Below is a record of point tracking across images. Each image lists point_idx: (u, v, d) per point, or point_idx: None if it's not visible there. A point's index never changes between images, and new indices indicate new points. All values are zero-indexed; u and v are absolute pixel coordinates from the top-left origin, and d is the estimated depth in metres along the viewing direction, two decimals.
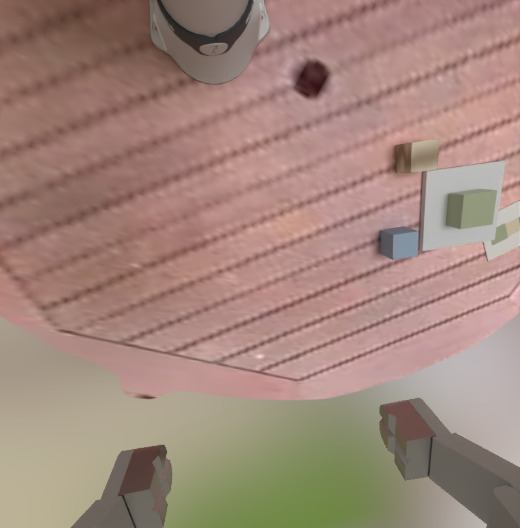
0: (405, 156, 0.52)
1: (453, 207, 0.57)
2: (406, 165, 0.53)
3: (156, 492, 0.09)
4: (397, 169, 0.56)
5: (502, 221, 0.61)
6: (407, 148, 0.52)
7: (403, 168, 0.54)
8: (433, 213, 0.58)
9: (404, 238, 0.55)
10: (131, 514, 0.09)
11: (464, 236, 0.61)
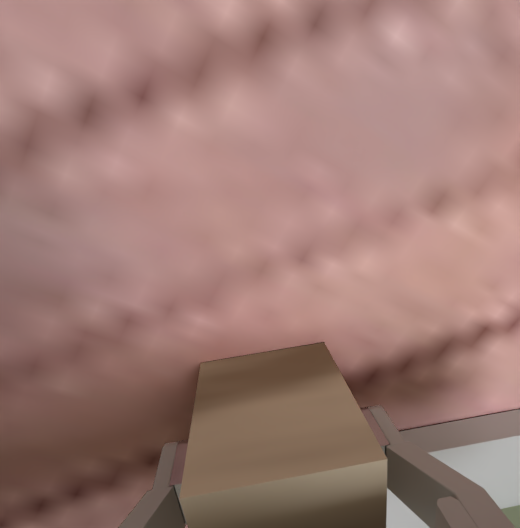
0: None
1: None
2: None
3: None
4: None
5: None
6: None
7: None
8: None
9: None
10: None
11: None
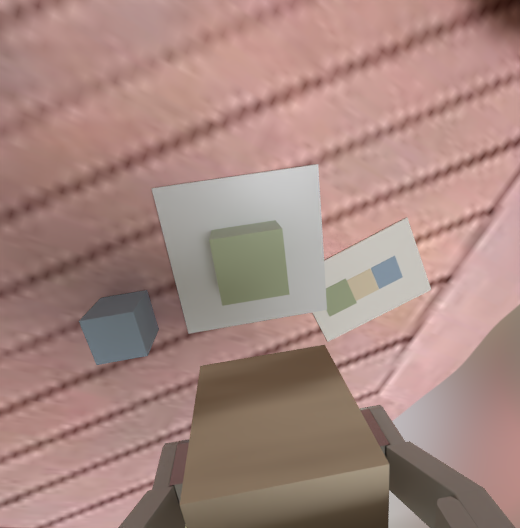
0: None
1: None
2: None
3: None
4: None
5: (340, 275, 0.33)
6: None
7: None
8: (190, 268, 0.30)
9: (106, 325, 0.27)
10: None
11: (265, 307, 0.32)
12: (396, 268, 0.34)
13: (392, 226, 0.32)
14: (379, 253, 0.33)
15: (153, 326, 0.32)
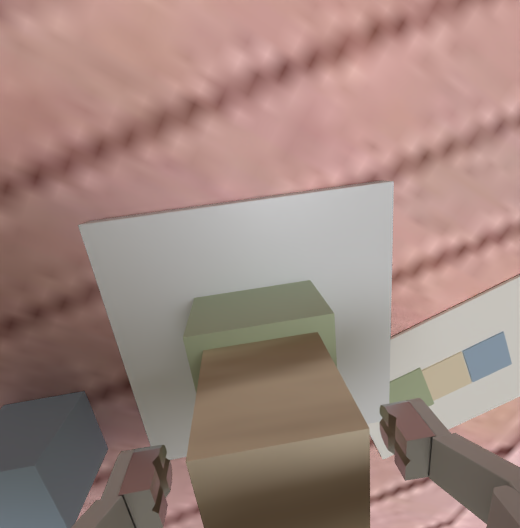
0: None
1: None
2: None
3: (156, 492, 0.09)
4: None
5: (412, 363, 0.20)
6: None
7: None
8: (157, 361, 0.17)
9: None
10: (131, 514, 0.09)
11: None
12: (504, 350, 0.20)
13: (505, 285, 0.19)
14: (479, 328, 0.20)
15: (94, 454, 0.18)
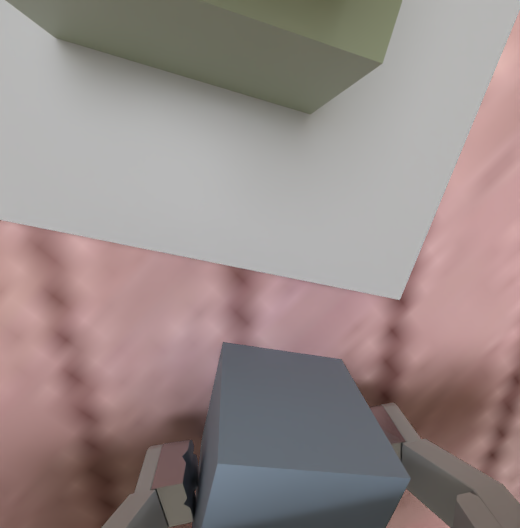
0: None
1: (149, 44, 0.06)
2: None
3: (187, 486, 0.09)
4: None
5: None
6: None
7: None
8: (187, 193, 0.08)
9: None
10: (163, 508, 0.09)
11: None
12: None
13: None
14: None
15: (326, 376, 0.11)
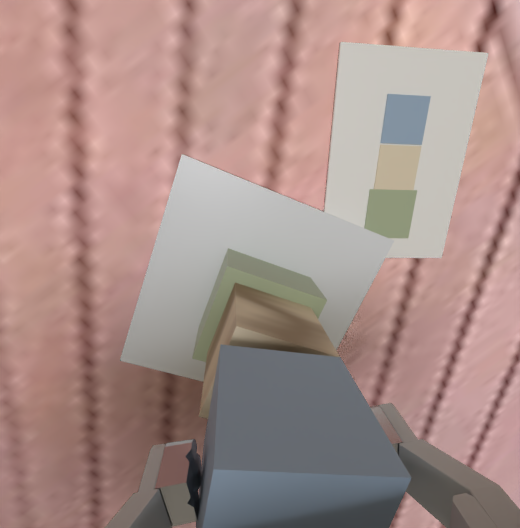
0: None
1: None
2: None
3: (191, 486, 0.09)
4: None
5: (361, 194, 0.21)
6: None
7: None
8: None
9: None
10: (167, 507, 0.09)
11: (333, 314, 0.23)
12: (409, 99, 0.19)
13: (339, 75, 0.19)
14: (367, 117, 0.19)
15: (325, 376, 0.11)
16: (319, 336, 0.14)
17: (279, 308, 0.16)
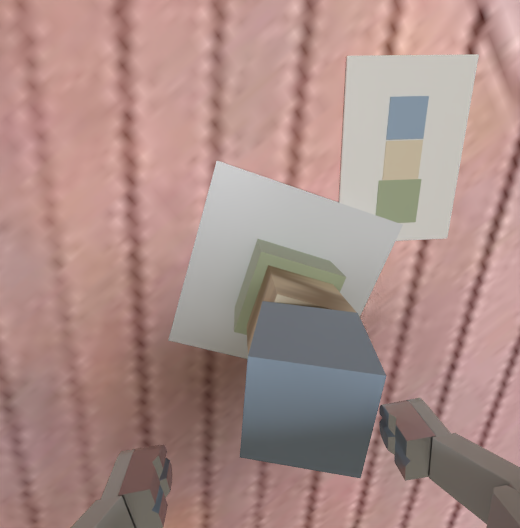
0: None
1: None
2: None
3: (156, 492, 0.09)
4: None
5: (371, 185, 0.24)
6: None
7: None
8: None
9: (266, 419, 0.12)
10: (131, 514, 0.09)
11: (351, 293, 0.26)
12: (410, 100, 0.22)
13: (347, 84, 0.22)
14: (373, 118, 0.22)
15: (340, 322, 0.14)
16: (342, 303, 0.17)
17: (307, 284, 0.19)
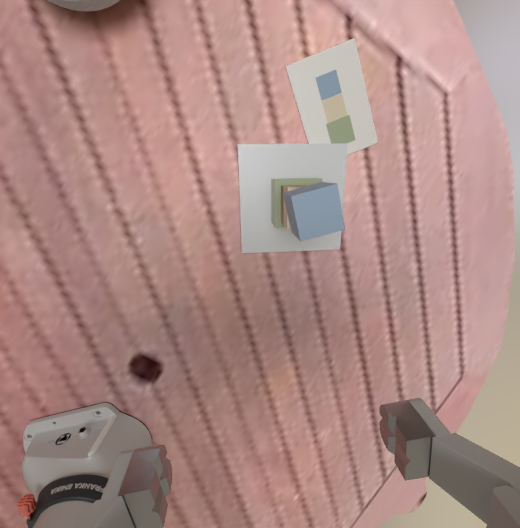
0: None
1: None
2: None
3: (156, 492, 0.09)
4: None
5: (322, 128, 0.42)
6: None
7: None
8: (294, 239, 0.46)
9: (304, 220, 0.31)
10: (131, 514, 0.09)
11: None
12: (326, 75, 0.40)
13: (290, 80, 0.40)
14: (310, 92, 0.41)
15: (317, 184, 0.33)
16: None
17: (302, 185, 0.38)
